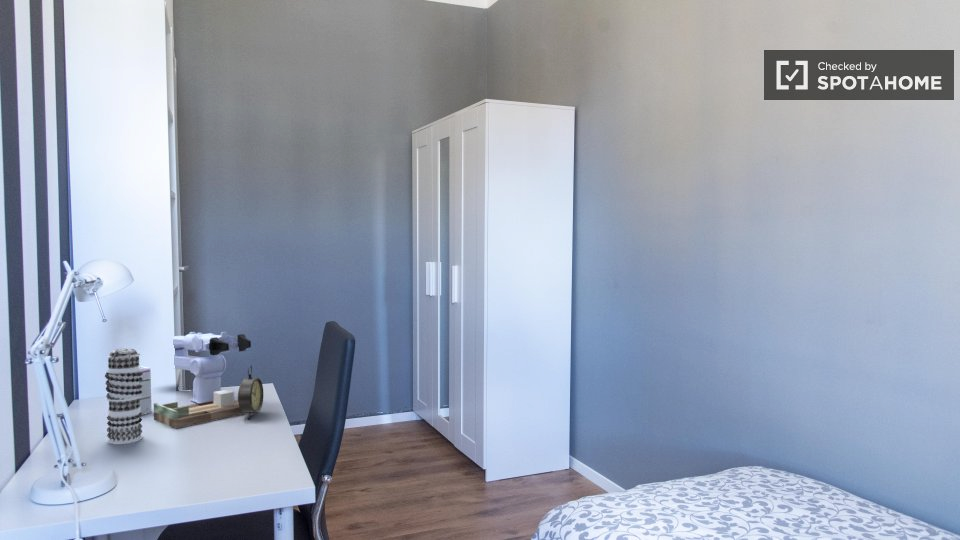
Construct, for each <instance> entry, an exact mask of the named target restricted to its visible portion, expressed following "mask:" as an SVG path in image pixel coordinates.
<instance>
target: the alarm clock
mask: <svg viewBox="0 0 960 540" xmlns="http://www.w3.org/2000/svg"><path fill="white" fill-rule="evenodd" d="M249 371H250V373H249ZM252 371H253V367H252V365H251V364H249V365H248V369H247V376H248V377H247V378H244V379H243V380H242V381H241V383H240V384H239V386H238V387H239V388H238V392H237V401H238V403H239V407H240V409H241V411H242V412H243V413H244V414H243V415H245V414H247V420H250V417H251V414H258V413H259V412H260V411H261V409H262V407H263V402H264V387H263V382H262V380H261V379H260V378H259V377H252Z"/></svg>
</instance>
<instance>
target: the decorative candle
mask: <svg viewBox="0 0 960 540" xmlns="http://www.w3.org/2000/svg"><path fill="white" fill-rule="evenodd" d="M140 356H141V353H138V352H137V350H135V349H134V348H117V349H114V350H111V352H110V353H109V355H107V356H106V358H107V359H108V360H107V362H108V364H107V365H108V366H107V371H106V373H105V374H104V378H105V379H106V381H105V385H106V387H105V390H106V392H107V394H106V401H108V410H107V411H108V412H107V416H106V419H107V420H108V421H107V423H106V424H107V426H108V427H107V429H106V432H107V434H106V437H107V443H108V442H109V443H108V444H110V443H113V444H112V445H125V444H131V443H135V442H138V441H141V439H143V436H142V433H143V430H142V428H143V425H142V423H141V422H142V421H143V419H142V416H143V415H142V413H141V407H140V397H141V396H142V395H141V393H142V391H141V390H139V389H140V388H141V387H142V385H140V384H139V382H140V381H142V380H143V379H142V378H141V377H139V376H141V375H142V374H143V373H142V372H139V371H140V366H141V365H140Z"/></svg>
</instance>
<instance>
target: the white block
mask: <svg viewBox="0 0 960 540" xmlns="http://www.w3.org/2000/svg"><path fill="white" fill-rule="evenodd" d="M234 400H235V391H233V390H229V389H223V390H222V389H221V391H216V392H214V405H217V406H220V407H222V406H227V405H232V404H234Z"/></svg>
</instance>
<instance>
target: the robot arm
mask: <svg viewBox="0 0 960 540" xmlns="http://www.w3.org/2000/svg"><path fill="white" fill-rule="evenodd" d="M172 337H173V336H172ZM251 342H252V341H251V340H250V339H249V338H247V336H246V335H245V334H243V333H239V334H237V337H236V336H232V335H228V332H227V331H221V333H220V334H214V333H212V332H210V333H202V332H197V333H196V331H190V332H189V333H188V334H186V335H176V336H175V335H174V337H173V345H174V348H175V355H174V365H175V368H174V369H176V370H184V371H190V373H191V374H193V375H194V376H195V377H194V378H193V379H194V380H193V382H192V388H193V389H192V396H193V397H192V399H190V402H192V403H195V404H197V403H202V402H208V401H213V400H214V392H216V391H222V388H221V385H222V382H221V381H222V380H221V379H222V378H221V376H224V375H223V373H224V372H225V371H226V369H227V360H226V358H225V356H224V355H225V354H229V353H230V352H232V351H234V350H237V349H238V352H240V353H241V352H245V351H246V350H247V349H249V348H251V347H252V344H251ZM189 351H195V353H199V352H209V354H210V355H209V356H205V357H203V356H196V355H195V356H194V355H189ZM223 354H224V355H223Z"/></svg>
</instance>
